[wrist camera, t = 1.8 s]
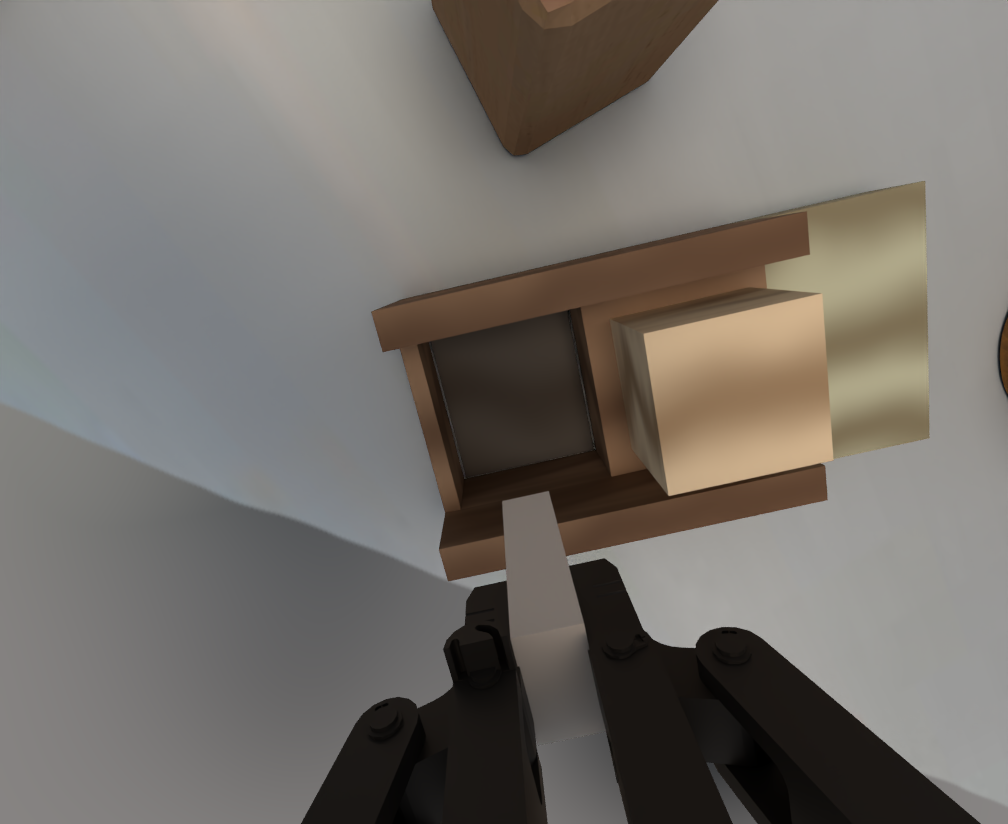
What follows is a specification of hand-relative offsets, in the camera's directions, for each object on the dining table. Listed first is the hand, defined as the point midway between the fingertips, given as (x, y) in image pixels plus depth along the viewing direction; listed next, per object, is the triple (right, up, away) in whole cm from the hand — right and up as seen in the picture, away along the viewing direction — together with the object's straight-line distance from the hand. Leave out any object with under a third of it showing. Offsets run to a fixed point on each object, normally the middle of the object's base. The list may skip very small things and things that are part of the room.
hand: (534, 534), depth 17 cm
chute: (+9, +7, +19) cm, 23 cm away
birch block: (+10, +6, +15) cm, 19 cm away
